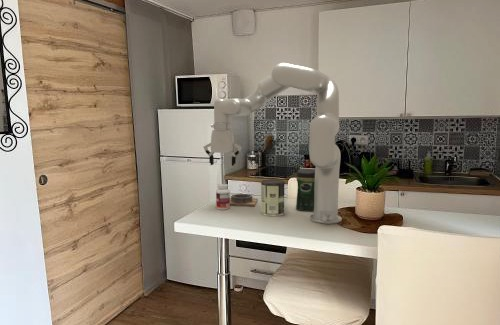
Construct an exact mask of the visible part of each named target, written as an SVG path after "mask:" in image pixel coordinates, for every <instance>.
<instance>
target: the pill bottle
mask: <svg viewBox="0 0 500 325" xmlns="http://www.w3.org/2000/svg"><path fill="white" fill-rule="evenodd" d="M230 192H231V191H230V189H229V184H227V183H220V184H217V189H216V192H215V194H216V195H215V196H216V197H215V198H216V199H215V201H216V203H215V205H216V206H215V207H216V210H220V211H222V210H224V211H225V210H229V209H230V207H231V206H230V198H231V194H230Z"/></svg>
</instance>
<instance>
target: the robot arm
mask: <svg viewBox="0 0 500 325" xmlns="http://www.w3.org/2000/svg"><path fill="white" fill-rule="evenodd" d="M289 88H292V89H297V90H302V91H306V92H309V93H313V94H316V95H317V101H316V116H315V117H314V118H313V119H312V120H311V121H310V124H309V126H310V127H309V143H308V144H309V145H308V146H309V160H310V161H311V164H312V165H313V166H315V185H314V211H313V213H312V214H311V215H309V220H310V221H312V222H314V223H318V224H325V225H326V224H329V225H330V224H331V225H332V224H338V223H340V222H342V220H343V218H342V217H341V216H340V215H339V213H338V212H339V185H340V184H339V183H340V169H341V168H340V166H341V154H342V153H341V150H340V148H339V146H338V145H337V144H336V135H337V134H338V133H339V131H340V95H339V94H340V92H339V87H338V84H337V83H336V81H335V80H334V79H333V78H332V77H330V76H329V75H327V74H325V73H324V72H321V71H319V70H317V69H315V68H312V67H307V66H302V65H297V64H292V63H287V62H279V63H277V64H276V65H274V67H272V70H271V74H269V75H268V76H266V77H265V78H263V79H261V80H260V81H259V82H258V83H257V88H256V90H255V91H254V92H252V93H251V94H250V95H248V96H246V97H244V98H236V97H234V98H233V97H232V98H228V99H227V98H217V99H215V100H214V102H213V107H214V108H213V119H214V120H213V124H211V125H210V127H211V128H213V129H212V131H211V136H210V138H211V139H210V142H209V143H207V144H206V145H204V146H203V150H204V152H205V153H206V154H207V155H208V157H209V159H208V160H209V164H210V166H214V161H215V160H214V154H215V153H217V154H218V153H219V154H223V153H225V154H226V153H227V154H228V153H229V154H231V155H232V156H231V166H233V167H234V166H235V165H236V160H237V156H238V155H239V154H240V153H241V150H242V146H241V145H239V144H237V143H235V141H234V138H235V136H234V132H233V129H232V116H235V117H236V116H237V117H247V116H249V115H251V114H252V113H254V112H256V111H257V110H260V109H261V108H262V107H263V106H265V105H266V104H267V103H268V102H269V101H270V100H272V99H273V98H274V97H276V96H278V95H279V94H281V93H282V92H285V91H286V90H288V89H289ZM209 147H210V150H209ZM235 148H236V149H237V150H236V151H235Z"/></svg>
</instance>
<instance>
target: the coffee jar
mask: <svg viewBox="0 0 500 325" xmlns="http://www.w3.org/2000/svg"><path fill="white" fill-rule="evenodd" d="M296 181H297V191H296V192H297V195H296V201H295V202H296V203H295V208H296V210H298V211H301V212H302V211H305V212H314V185H315V169H313V168H299V169H298V170H297V171H296Z"/></svg>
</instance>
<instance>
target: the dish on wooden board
mask: <svg viewBox="0 0 500 325" xmlns="http://www.w3.org/2000/svg"><path fill="white" fill-rule="evenodd" d="M257 203H258V198H255V197H254V198H253V195H252V194H249V193H237V194H231V195H230V207H246V208H248V207H249V208H251V207H252V208H253V207H255V206H256V204H257Z"/></svg>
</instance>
